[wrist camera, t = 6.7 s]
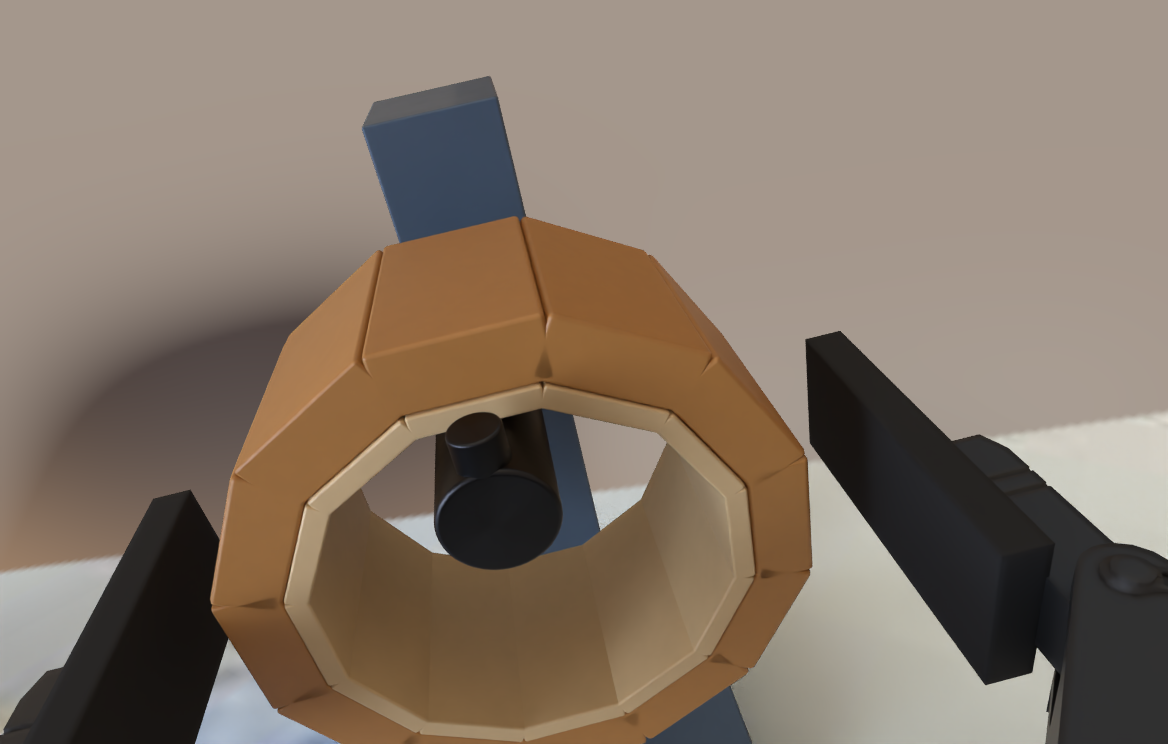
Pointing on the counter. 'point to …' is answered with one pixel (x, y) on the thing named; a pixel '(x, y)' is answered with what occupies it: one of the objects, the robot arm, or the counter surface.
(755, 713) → the counter surface
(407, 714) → the tape roll
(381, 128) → the hook stand
